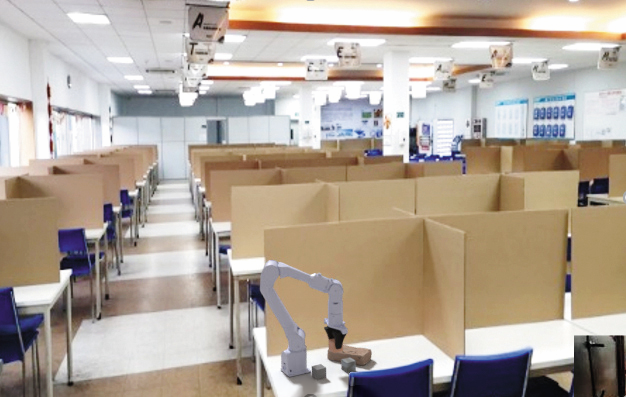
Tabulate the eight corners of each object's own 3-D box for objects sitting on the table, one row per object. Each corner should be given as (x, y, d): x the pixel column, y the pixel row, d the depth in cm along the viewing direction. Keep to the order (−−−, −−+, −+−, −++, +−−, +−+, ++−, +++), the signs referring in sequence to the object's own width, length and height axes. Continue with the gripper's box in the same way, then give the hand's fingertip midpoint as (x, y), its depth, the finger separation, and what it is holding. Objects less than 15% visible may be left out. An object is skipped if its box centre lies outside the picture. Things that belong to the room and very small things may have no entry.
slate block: (346, 373, 213) (346, 363, 212) (341, 369, 216) (341, 359, 216) (355, 371, 215) (355, 360, 214) (350, 367, 218) (350, 357, 218)
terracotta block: (333, 353, 212) (333, 342, 211) (328, 349, 215) (328, 339, 215) (342, 351, 214) (342, 341, 213) (337, 347, 217) (337, 337, 217)
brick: (326, 359, 227) (326, 348, 226) (335, 352, 234) (335, 342, 233) (364, 367, 219) (364, 356, 218) (372, 360, 226) (372, 348, 226)
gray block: (316, 380, 207) (316, 369, 206) (311, 376, 210) (311, 366, 210) (326, 378, 209) (326, 367, 208) (321, 374, 212) (320, 364, 212)
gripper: (354, 315, 208) (354, 350, 210) (334, 305, 221) (335, 339, 223) (338, 318, 205) (338, 354, 206) (319, 308, 218) (319, 342, 219)
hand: (335, 346), depth 214 cm, fingers closed on terracotta block, 4 cm apart
